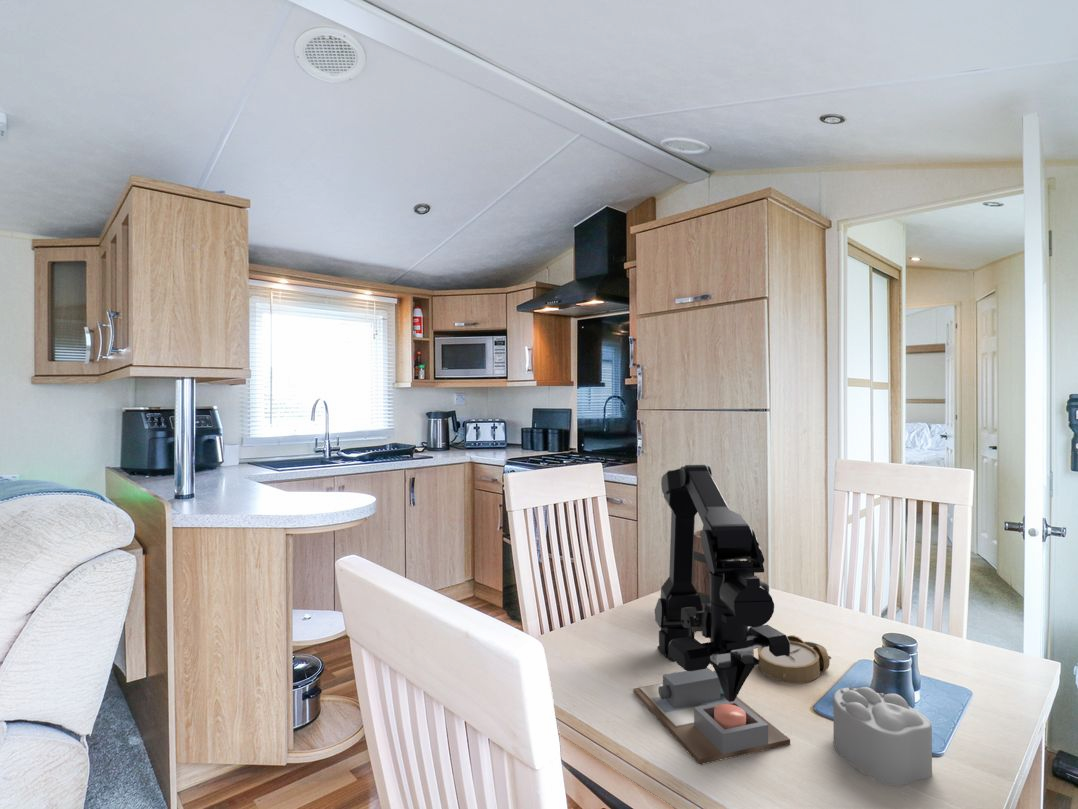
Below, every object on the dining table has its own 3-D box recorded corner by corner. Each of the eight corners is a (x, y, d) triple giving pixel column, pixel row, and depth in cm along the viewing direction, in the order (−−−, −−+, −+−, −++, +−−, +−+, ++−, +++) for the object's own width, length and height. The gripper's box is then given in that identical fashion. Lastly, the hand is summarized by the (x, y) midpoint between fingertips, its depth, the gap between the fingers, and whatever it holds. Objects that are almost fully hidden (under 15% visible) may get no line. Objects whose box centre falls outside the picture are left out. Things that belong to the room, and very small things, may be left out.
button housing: (736, 716, 98) (736, 699, 98) (768, 744, 90) (768, 724, 90) (694, 725, 96) (693, 707, 96) (723, 754, 88) (722, 734, 88)
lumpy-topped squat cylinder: (887, 790, 81) (886, 728, 80) (815, 738, 93) (814, 684, 93) (943, 774, 84) (942, 714, 84) (866, 725, 96) (866, 673, 96)
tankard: (706, 632, 134) (705, 545, 134) (667, 607, 150) (666, 529, 150) (790, 618, 142) (789, 536, 141) (745, 596, 158) (744, 521, 157)
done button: (734, 720, 96) (733, 701, 96) (752, 736, 91) (752, 717, 91) (708, 725, 95) (708, 706, 94) (725, 742, 90) (725, 722, 90)
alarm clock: (744, 651, 118) (794, 623, 125) (747, 674, 119) (797, 645, 126) (791, 674, 108) (842, 642, 115) (794, 699, 109) (846, 666, 116)
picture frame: (710, 679, 113) (709, 673, 112) (790, 744, 91) (790, 737, 91) (633, 692, 108) (633, 687, 108) (699, 764, 87) (699, 757, 87)
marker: (719, 687, 107) (718, 665, 107) (732, 697, 104) (732, 675, 103) (655, 698, 104) (655, 676, 104) (667, 710, 100) (666, 686, 100)
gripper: (747, 580, 103) (748, 669, 103) (651, 592, 97) (652, 685, 98) (792, 601, 92) (793, 700, 92) (686, 616, 87) (687, 721, 87)
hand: (729, 700), depth 93 cm, fingers closed
